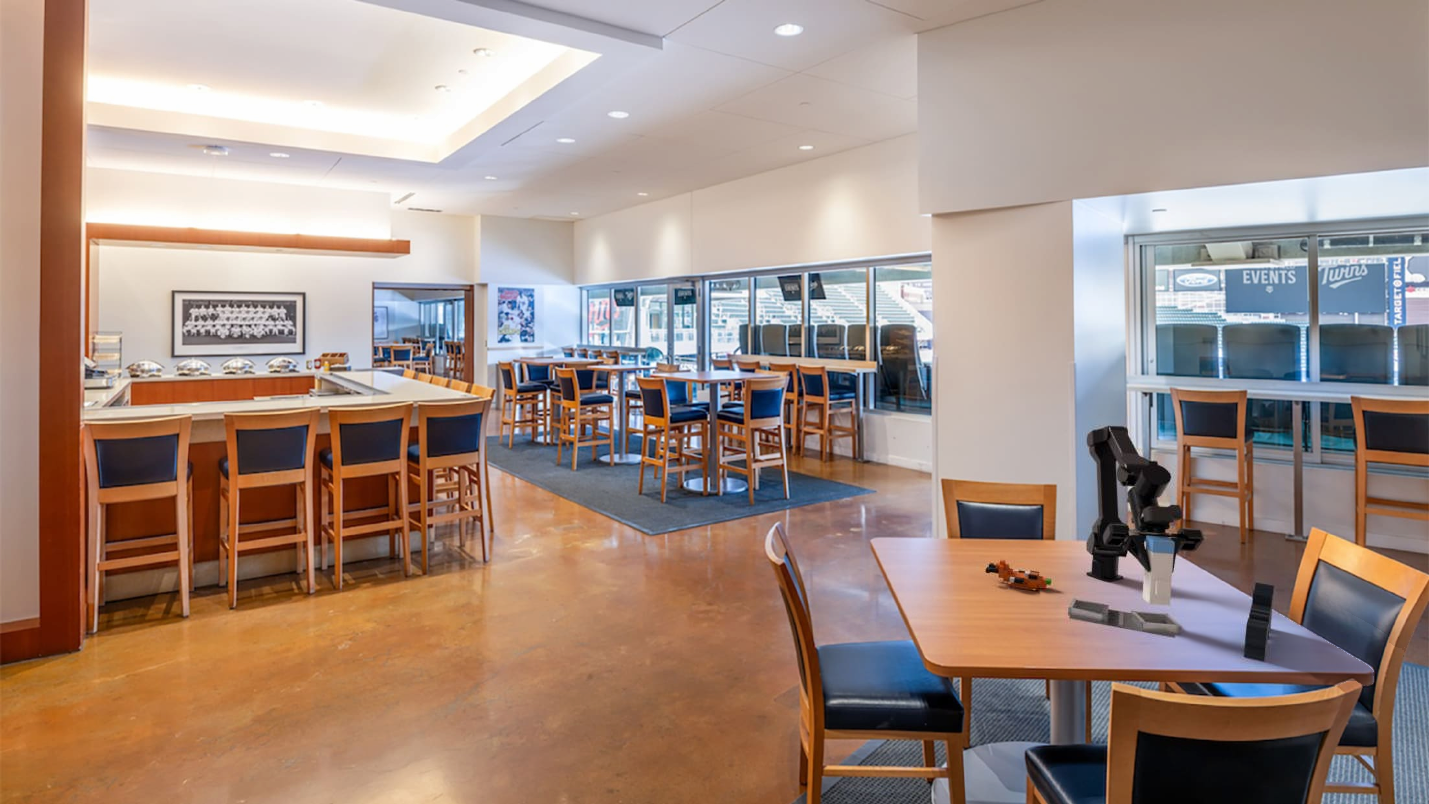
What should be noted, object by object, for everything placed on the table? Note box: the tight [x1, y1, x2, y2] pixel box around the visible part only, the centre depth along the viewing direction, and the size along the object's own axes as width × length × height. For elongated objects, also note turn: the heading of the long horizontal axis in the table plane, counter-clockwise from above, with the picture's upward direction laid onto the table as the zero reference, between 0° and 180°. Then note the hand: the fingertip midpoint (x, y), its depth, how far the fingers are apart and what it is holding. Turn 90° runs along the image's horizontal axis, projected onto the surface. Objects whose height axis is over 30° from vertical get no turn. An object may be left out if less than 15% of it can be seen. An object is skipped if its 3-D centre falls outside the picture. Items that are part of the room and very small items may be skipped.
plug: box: [1142, 536, 1175, 607], centre depth 158 cm, size 5×4×14 cm
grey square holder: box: [1067, 598, 1110, 622], centre depth 166 cm, size 7×7×2 cm
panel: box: [1069, 607, 1176, 639], centre depth 162 cm, size 20×11×1 cm, turn 60°
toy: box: [985, 558, 1052, 591], centre depth 185 cm, size 8×6×15 cm
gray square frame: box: [1130, 610, 1182, 635], centre depth 159 cm, size 7×7×2 cm
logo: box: [1243, 582, 1275, 663], centre depth 151 cm, size 24×3×10 cm, turn 140°
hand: (1160, 572), depth 157 cm, fingers closed on plug, 4 cm apart
